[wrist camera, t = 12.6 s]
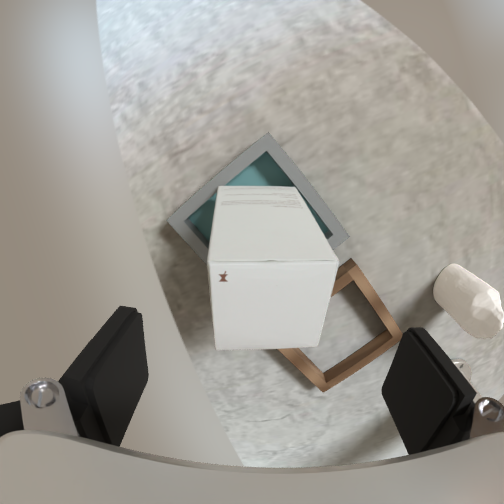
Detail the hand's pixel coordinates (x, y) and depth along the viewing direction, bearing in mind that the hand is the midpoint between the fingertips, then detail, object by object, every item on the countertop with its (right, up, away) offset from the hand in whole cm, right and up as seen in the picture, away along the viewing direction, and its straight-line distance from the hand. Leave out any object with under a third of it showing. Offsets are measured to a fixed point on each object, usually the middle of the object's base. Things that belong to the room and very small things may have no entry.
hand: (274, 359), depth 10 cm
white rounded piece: (+24, 0, +23) cm, 33 cm away
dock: (0, +7, +20) cm, 21 cm away
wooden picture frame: (+9, -5, +24) cm, 26 cm away
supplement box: (0, +7, +19) cm, 20 cm away
